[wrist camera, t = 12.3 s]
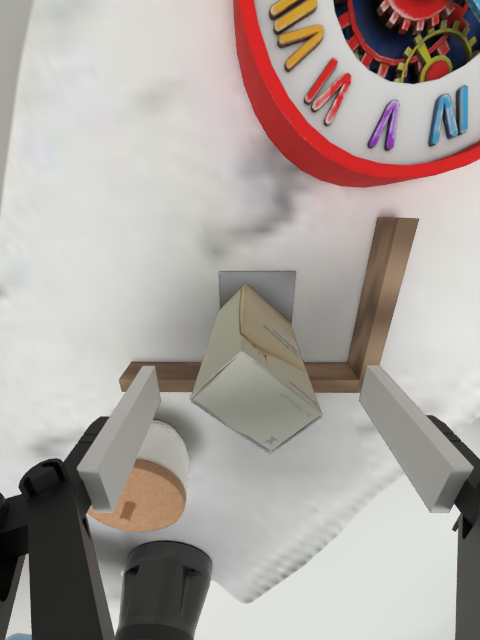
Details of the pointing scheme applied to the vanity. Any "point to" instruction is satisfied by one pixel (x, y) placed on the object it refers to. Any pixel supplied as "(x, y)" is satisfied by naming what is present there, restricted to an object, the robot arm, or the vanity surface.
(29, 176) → the vanity surface
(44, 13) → the vanity surface
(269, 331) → the skincare box
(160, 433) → the lidded jar
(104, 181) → the vanity surface
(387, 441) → the robot arm
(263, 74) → the toy clock
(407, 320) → the vanity surface
